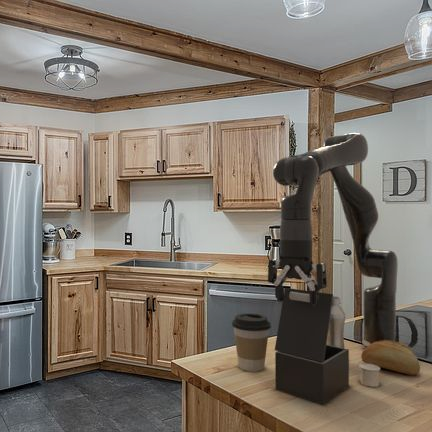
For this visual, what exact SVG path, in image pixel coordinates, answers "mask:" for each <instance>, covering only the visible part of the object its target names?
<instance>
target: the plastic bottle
mask: <svg viewBox="0 0 432 432" xmlns="http://www.w3.org/2000/svg"><path fill="white" fill-rule="evenodd" d="M340 305H341V297H340V296H334V295H333V301H332V308H331V315H330V322H329V329H328V337H327V344H326V345H331V346H335V347H340V348H344V349H346V348H345V341H344V332H345V322H346V313H345V312H344V310H343V308H342V307H341V306H340Z"/></svg>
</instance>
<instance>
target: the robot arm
mask: <svg viewBox="0 0 432 432" xmlns="http://www.w3.org/2000/svg"><path fill="white" fill-rule="evenodd" d="M368 152H369V145H368V141H367V138H366V137H365V136H364V135H363V134H362V133H358V132H351V133H345V134H339V135H333V136H328V137H327V138H326V139H325V140H324V141H323V146H321V147H317V148H314V149H311V150H309V151H306V152H304V153H300V154H296V155H290V156H286V157H282V158H280V159H279V160H278V161H276V163H275V164H274V166H273V169H272V176H273V178H274V180H275V182H276V183H277V184H279V185H280V186H284V187H293V186H297V189H296V191H295V192H294V193H292V194H288V195H285V196H284V197H282V198H281V200H280V225H279V255H280V260H278V259H277V258H272V259H269V260H268V266H267V267H268V269H267V270H268V271H267V282H268V283H269V284H272V285H274V289H275V291H274V292H275V293H274V294H275V296H274V297H275V299H276V301H277V302H283V300H284V290H285V286H284V283H285V282H286V281H287V280H288V279H290V280H291V279H295V280H298V281H299V280H302V281H303V282H304V283H305V284H306V285H307V287H308V288H309V291H310V306H316V304H318V302H319V292H320V290H323V289H326V288H327V287H328V279H327V267H326V266H327V265H326V263H324V262H320V263H314V262H313V225H312V200H313V197H314V192H315V189H316V185H317V182H318V179H319V177H320V176H322V175H325V174H327V173H329V172H330V174H331V175H330V176H331V178H332V179H333V182H334V184H335V187H336V190H337V192H338V196H339V199H340V203H341V207H342V211H343V214H344V217H345V220H346V223H347V226H348V229H349V232H350V236H351V239H352V243H353V247H354V253H355V254H354V255H355V259H356V263H357V267H358V270H359V272H360V274H361V275H362V276H364V277H366V278H367V277H368V278H373V279H381V280H380V284H378V285H375V286H370V287H367V288H365V289H364V290H363V338H362V340H361V341H362V344H363V346H362V347H363V351H364V350H365V348H366V347H368V346H369V345H370V344H372V343H374V342H375V341H378V340H390V341H396V342H397V337H396V336H397V332H396V331H397V323H396V322H397V316H396V315H397V313H396V312H397V310H396V309H397V307H396V306H397V305H396V304H397V303H396V301H397V300H396V299H397V298H396V296H397V288H398V287H397V286H398V285H397V282H398V268H399V266H398V265H399V262H398V257H397V254H396V253H395V252H394V251H392V250H385V249H372V248H371V247H370V243H369V242H370V241H369V240H370V237H371V235H372V233H373V231H374V229H375V227H376V226H377V223H378V222H379V211H378V207H377V203H376V201H375V198H374V196H373V195H372V193H371V192H370V191H369V190H368V189H367V188H366V187H364V186H363V185H362V184H361V183H360V182H358V181H357V179H355V178H354V177H353V175H352V174H351V173H350V171H349V170H348V168H347V167H348V166H355V165H359V164H361V163H363V162H364V161H365V160H366V159H367V157H368ZM279 267H280V269H281V272H280V273H279V274H278V268H279ZM313 270H314V272H315V273H316V277H315V276H314V275H313V273H312V271H313Z"/></svg>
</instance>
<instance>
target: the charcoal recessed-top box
mask: <svg viewBox="0 0 432 432" xmlns="http://www.w3.org/2000/svg"><path fill="white" fill-rule="evenodd" d="M344 348H345V347H344ZM344 348H340V347H335V346H331V345H326V351H325V358H324V363H323V362H319V361H315V360H311V359H307V358H303V357H299V356H295V355H291V354H288V353H284V352H280V351H275V352H274V353H275V354H274V355H275V357H274V359H275V360H274V361H275V366H274V369H275V370H274V371H275V372H274V373H275V376H274V377H275V378H274V379H275V385H274V386H275V390H276V391H279V392H282V393H284V394H285V393H286V394H287V395H288V394H289V395H291V396H295V397H298V398H301V399H303V400H307V401H310V402H313V403H315V404H319V405H322V406H324V405H325V404H327V403H328V402H330V401H331V400H333V399H334V398H335V397H336V396H338V395H339V394H340V393H342V392H343V391H345V390H346V389H347V388H348V387H350V379H349V378H350V375H349V374H350V349H349V348H345V349H344Z"/></svg>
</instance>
